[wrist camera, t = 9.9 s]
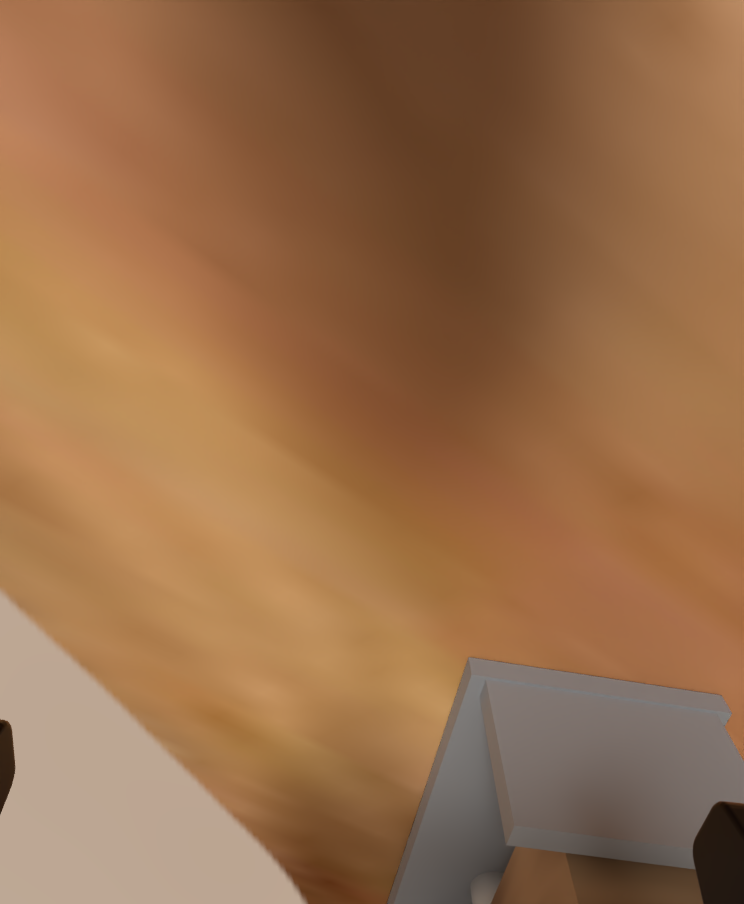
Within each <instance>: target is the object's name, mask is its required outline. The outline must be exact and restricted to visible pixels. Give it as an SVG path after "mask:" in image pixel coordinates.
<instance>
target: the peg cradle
mask: <svg viewBox="0 0 744 904" xmlns="http://www.w3.org/2000/svg"><path fill="white" fill-rule="evenodd" d="M731 714H732V712H731V711H730V709H729V707H728V706H727V704H726V702H725V701H724V699H723V697H722V695H716V694H709V693H702V692H696V691H689V690H683V689H676V688H669V687H663V686H656V685H649V684H643V683H636V682H630V681H623V680H616V679H610V678H603V677H596V676H590V675H583V674H577V673H570V672H563V671H557V670H550V669H543V668H537V667H530V666H524V665H517V664H510V663H504V662H497V661H490V660H484V659H477V658H471V657H469V658H468V661H467V664H466V667H465V670H464V673H463V676H462V679H461V682H460V685H459V688H458V691H457V694H456V697H455V700H454V703H453V706H452V709H451V712H450V715H449V718H448V721H447V724H446V727H445V730H444V733H443V736H442V739H441V742H440V745H439V748H438V751H437V754H436V757H435V760H434V763H433V766H432V769H431V772H430V775H429V778H428V781H427V784H426V787H425V790H424V793H423V796H422V799H421V802H420V805H419V808H418V811H417V814H416V817H415V820H414V823H413V826H412V829H411V832H410V835H409V838H408V841H407V844H406V847H405V850H404V853H403V856H402V859H401V862H400V865H399V868H398V871H397V874H396V877H395V880H394V883H393V886H392V889H391V893H390V896H389V899H388V902H387V904H491V902H492V899H493V897H494V895H495V893H496V890H497V888H498V886H499V883H500V881H501V879H502V877H503V874H504V872H505V870H506V867H507V865H508V863H509V860H510V858H511V856H512V854H513V851H514V849H515V847H524V848H532V849H540V850H548V851H555V852H563V853H571V854H579V855H586V856H594V857H602V858H610V859H618V860H625V861H633V862H641V863H649V864H656V865H664V866H672V867H680V868H688V869H695V865H694V861H693V852H692V851H693V843H694V839H695V837H696V835H697V833H698V831H699V830H700V828H701V826H702V824H703V822H704V821H705V819H706V817H707V815H708V813H709V811H710V810H711V808H712V806H713V805H714V804H715V803H717V802H719V801H726V802H735V803H743V804H744V761H743V759H742V757H741V756H740V754H739V752H738V750H737V748H736V747H735V745H734V743H733V741H732V740H731V738H730V736H729V734H728V732H727V731H726V729H725V727H724V726H725V725H726V723H727V721H728V719H729V718H730V716H731Z"/></svg>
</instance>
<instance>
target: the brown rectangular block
mask: <svg viewBox="0 0 744 904" xmlns="http://www.w3.org/2000/svg"><path fill="white" fill-rule="evenodd" d="M491 904H703V900H702V896H701V891H700V887H699V883H698V878H697V874H696V870H695V869H688V868H680V867H672V866H664V865H656V864H649V863H641V862H633V861H625V860H618V859H610V858H602V857H594V856H586V855H579V854H571V853H563V852H555V851H548V850H540V849H532V848H524V847H515V849H514V851H513V854H512V856H511V858H510V860H509V863H508V865H507V867H506V870H505V872H504V874H503V877H502V879H501V881H500V883H499V886H498V888H497V890H496V893H495V895H494V897H493V899H492V902H491Z"/></svg>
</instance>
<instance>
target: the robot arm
mask: <svg viewBox="0 0 744 904" xmlns="http://www.w3.org/2000/svg"><path fill="white" fill-rule="evenodd" d="M14 774H15V759H14V747H13V737H12V729H11V725H10V724H9V722H8V721H5V720H0V814H1V811H2V809H3V806H4V804H5V801H6V799H7V796H8V794H9V791H10V788H11V786H12V782H13V778H14ZM692 852H693V861H694V865H695V870H696V874H697V878H698V883H699V887H700V891H701V896H702V900H703V904H744V804H743V803H735V802H726V801H719V802H717V803H715V804H714V805H713V806H712V808H711V810H710V811H709V813H708V815H707V817H706V819H705V821H704V822H703V824H702V826H701V828H700V830H699V831H698V833H697V835H696V837H695V839H694V843H693V851H692Z"/></svg>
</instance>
